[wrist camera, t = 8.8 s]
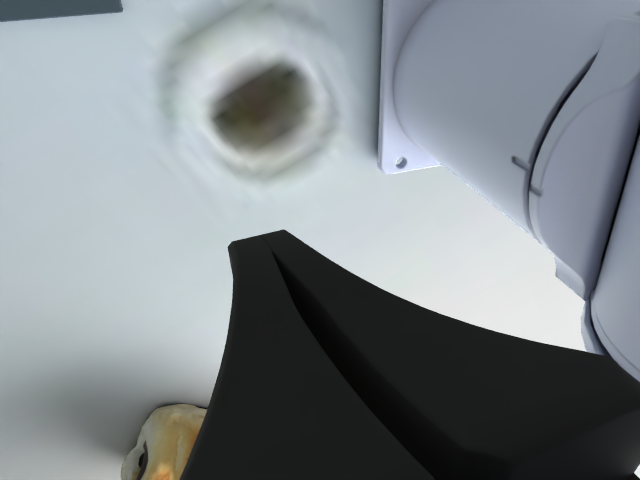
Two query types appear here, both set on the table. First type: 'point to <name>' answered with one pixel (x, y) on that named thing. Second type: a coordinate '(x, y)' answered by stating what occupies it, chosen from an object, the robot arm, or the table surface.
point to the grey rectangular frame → (55, 8)
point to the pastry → (164, 443)
